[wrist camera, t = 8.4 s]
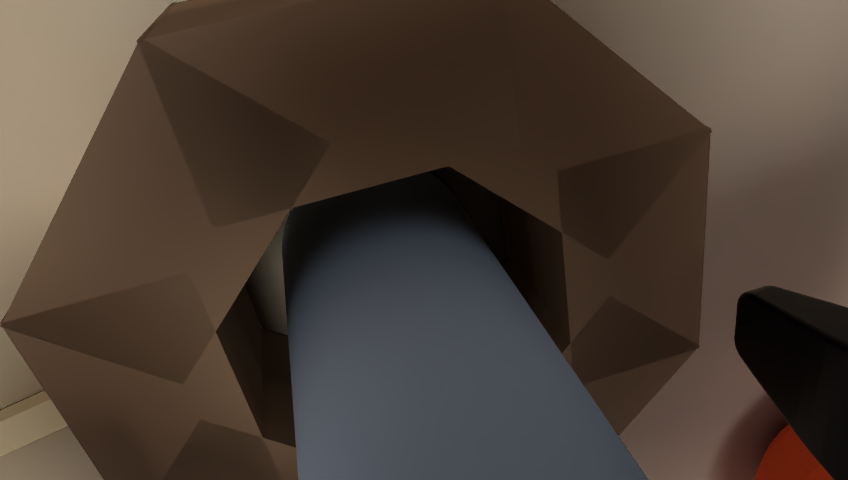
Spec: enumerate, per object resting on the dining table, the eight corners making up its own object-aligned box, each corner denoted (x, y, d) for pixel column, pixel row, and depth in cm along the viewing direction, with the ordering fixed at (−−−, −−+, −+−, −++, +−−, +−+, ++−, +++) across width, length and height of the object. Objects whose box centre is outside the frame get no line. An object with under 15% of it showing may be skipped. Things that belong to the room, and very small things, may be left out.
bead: (606, -95, 10) (724, -96, 8) (619, 364, 15) (693, 456, 13) (-33, 48, 9) (-148, 104, 6) (210, 493, 14) (199, 624, 11)
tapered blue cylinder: (450, 137, 11) (851, 615, 4) (476, 295, 13) (784, 838, 5) (256, 188, 11) (255, 845, 3) (311, 343, 13) (392, 1003, 5)
